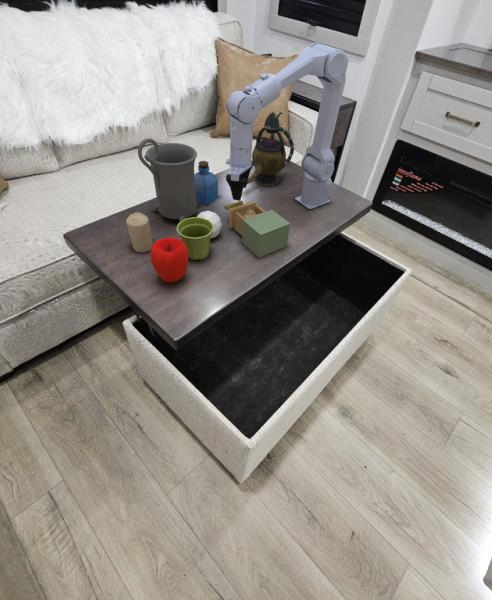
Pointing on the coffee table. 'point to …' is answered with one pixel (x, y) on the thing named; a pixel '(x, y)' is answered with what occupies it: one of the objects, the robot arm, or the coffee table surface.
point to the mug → (172, 177)
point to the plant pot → (196, 236)
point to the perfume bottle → (205, 184)
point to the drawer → (237, 218)
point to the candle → (139, 232)
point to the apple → (169, 258)
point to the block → (247, 213)
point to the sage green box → (265, 233)
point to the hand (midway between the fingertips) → (239, 193)
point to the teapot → (270, 153)
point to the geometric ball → (214, 219)
